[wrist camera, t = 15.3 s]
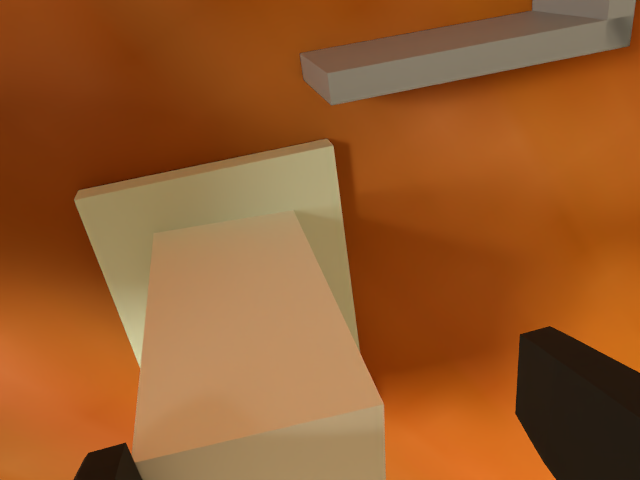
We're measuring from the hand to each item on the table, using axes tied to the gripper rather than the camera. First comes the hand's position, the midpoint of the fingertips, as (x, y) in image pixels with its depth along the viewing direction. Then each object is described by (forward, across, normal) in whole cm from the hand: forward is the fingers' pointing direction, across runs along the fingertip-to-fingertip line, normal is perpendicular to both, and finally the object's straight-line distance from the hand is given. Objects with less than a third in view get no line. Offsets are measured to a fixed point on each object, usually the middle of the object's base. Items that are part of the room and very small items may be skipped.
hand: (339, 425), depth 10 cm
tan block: (+9, +2, +4) cm, 10 cm away
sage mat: (+10, +2, +4) cm, 11 cm away
